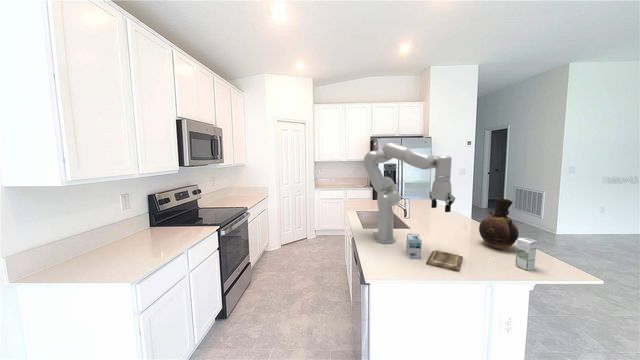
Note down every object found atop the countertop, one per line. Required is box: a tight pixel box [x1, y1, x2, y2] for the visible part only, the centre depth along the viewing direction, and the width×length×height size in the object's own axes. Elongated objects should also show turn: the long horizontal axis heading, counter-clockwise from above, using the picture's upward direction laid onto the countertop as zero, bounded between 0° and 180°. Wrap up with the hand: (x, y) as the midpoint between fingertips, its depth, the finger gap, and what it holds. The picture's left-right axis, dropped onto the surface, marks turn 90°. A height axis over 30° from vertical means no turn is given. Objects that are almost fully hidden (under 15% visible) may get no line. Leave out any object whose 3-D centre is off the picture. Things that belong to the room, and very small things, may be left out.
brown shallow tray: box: [425, 249, 464, 273], centre depth 131 cm, size 15×18×2 cm
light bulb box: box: [405, 232, 423, 260], centre depth 139 cm, size 11×7×11 cm, turn 168°
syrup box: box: [514, 237, 538, 272], centre depth 122 cm, size 6×6×14 cm
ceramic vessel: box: [478, 197, 519, 250], centre depth 148 cm, size 21×18×30 cm
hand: (440, 209), depth 135 cm, fingers open, 9 cm apart
